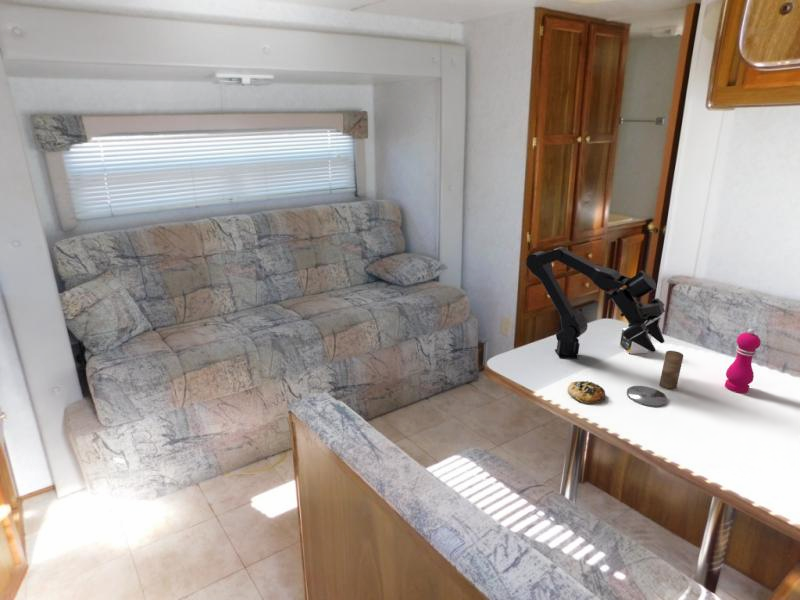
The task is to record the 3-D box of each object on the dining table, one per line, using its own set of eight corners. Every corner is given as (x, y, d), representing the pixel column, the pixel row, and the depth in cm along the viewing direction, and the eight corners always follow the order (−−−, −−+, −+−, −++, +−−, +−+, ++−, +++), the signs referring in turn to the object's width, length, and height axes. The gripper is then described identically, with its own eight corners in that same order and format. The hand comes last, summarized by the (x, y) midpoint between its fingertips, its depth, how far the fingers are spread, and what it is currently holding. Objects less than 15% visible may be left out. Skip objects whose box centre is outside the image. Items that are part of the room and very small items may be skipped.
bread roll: (611, 394, 159) (612, 380, 157) (595, 413, 152) (596, 398, 150) (576, 383, 166) (576, 369, 164) (559, 400, 159) (559, 386, 157)
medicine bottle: (619, 345, 193) (624, 315, 189) (637, 345, 194) (643, 314, 190) (629, 354, 187) (635, 322, 183) (648, 353, 188) (654, 322, 184)
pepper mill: (748, 385, 166) (764, 326, 160) (751, 396, 160) (768, 335, 153) (721, 380, 169) (736, 322, 162) (724, 390, 163) (739, 330, 156)
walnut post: (663, 389, 163) (670, 357, 159) (656, 382, 167) (663, 350, 164) (679, 390, 163) (686, 357, 159) (671, 382, 167) (678, 350, 164)
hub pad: (636, 406, 153) (636, 404, 153) (620, 387, 163) (620, 385, 163) (673, 406, 153) (674, 404, 153) (655, 388, 163) (656, 385, 163)
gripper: (640, 299, 155) (674, 344, 152) (659, 285, 168) (690, 326, 165) (609, 318, 162) (641, 361, 159) (629, 303, 176) (659, 342, 173)
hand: (659, 347), depth 164 cm, fingers open, 9 cm apart
